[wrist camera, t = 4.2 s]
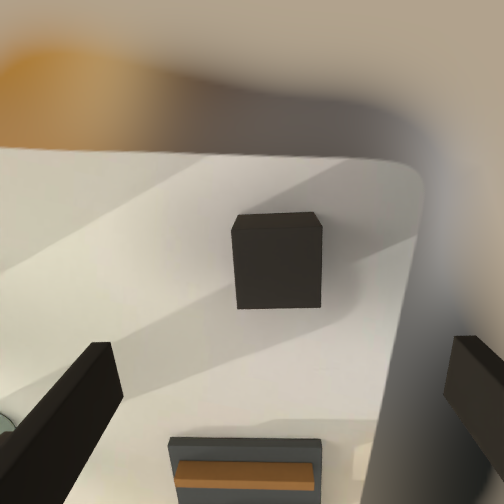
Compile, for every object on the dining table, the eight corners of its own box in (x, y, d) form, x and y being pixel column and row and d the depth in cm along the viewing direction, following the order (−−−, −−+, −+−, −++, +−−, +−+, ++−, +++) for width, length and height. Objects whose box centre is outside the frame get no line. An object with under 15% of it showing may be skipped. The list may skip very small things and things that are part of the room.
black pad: (313, 211, 24) (322, 226, 20) (312, 281, 26) (320, 308, 22) (237, 214, 25) (230, 229, 20) (242, 283, 27) (237, 309, 22)
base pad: (320, 439, 32) (325, 467, 29) (318, 526, 37) (322, 558, 34) (170, 437, 33) (160, 464, 30) (186, 522, 38) (179, 553, 35)
